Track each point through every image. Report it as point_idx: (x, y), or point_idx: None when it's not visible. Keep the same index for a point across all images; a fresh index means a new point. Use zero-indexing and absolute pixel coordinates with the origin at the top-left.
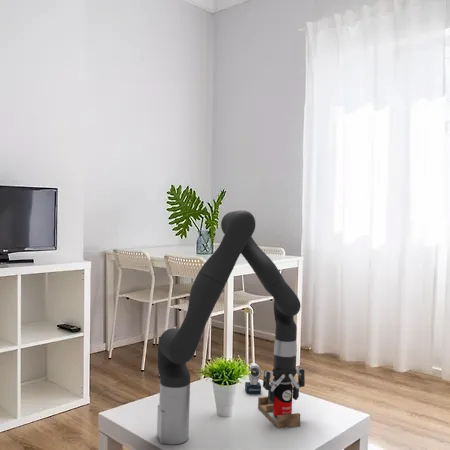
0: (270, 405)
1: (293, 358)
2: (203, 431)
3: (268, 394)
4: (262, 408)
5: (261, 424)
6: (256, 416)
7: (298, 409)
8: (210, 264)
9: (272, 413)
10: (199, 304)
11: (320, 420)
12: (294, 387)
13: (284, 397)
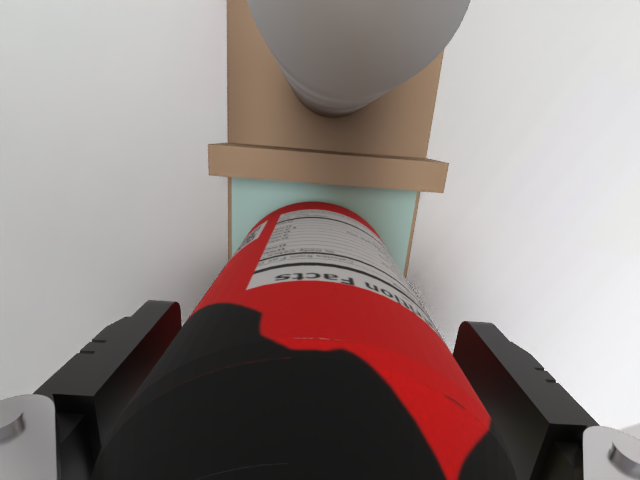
0: (245, 176)
1: None
2: None
3: (72, 370)
4: (227, 58)
5: (157, 254)
6: (164, 120)
7: (557, 103)
8: None
9: (263, 201)
10: None
11: (559, 317)
12: (553, 469)
13: None
